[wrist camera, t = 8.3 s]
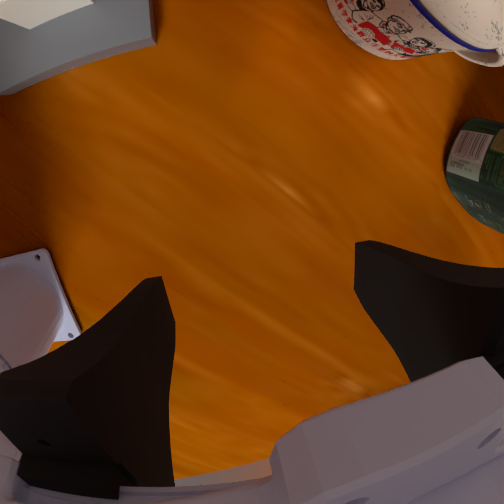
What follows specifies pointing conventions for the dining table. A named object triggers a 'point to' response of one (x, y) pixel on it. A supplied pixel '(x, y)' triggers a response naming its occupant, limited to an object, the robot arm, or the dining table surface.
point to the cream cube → (37, 10)
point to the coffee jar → (479, 171)
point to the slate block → (72, 41)
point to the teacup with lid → (424, 27)
